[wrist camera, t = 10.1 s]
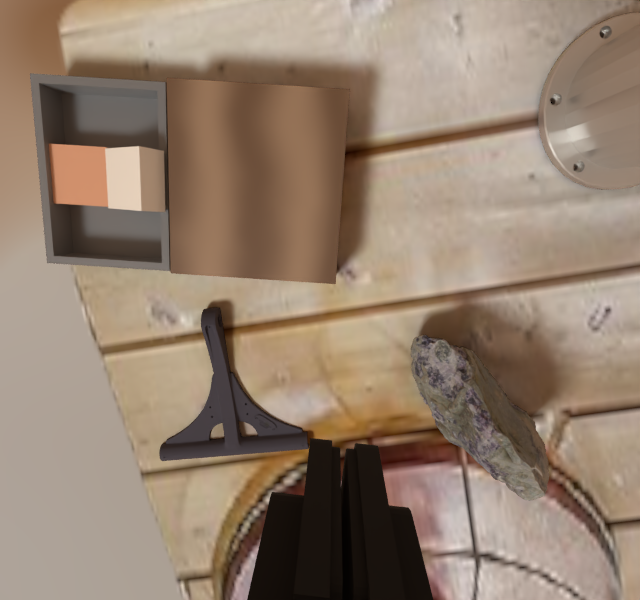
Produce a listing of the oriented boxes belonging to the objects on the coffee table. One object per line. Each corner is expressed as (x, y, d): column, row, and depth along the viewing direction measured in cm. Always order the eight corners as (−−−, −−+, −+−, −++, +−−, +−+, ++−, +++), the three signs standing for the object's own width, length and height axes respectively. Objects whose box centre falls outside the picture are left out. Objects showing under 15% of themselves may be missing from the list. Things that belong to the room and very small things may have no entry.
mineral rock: (404, 327, 35) (433, 370, 26) (523, 312, 35) (600, 351, 25) (415, 452, 38) (446, 535, 28) (526, 440, 38) (596, 520, 28)
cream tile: (163, 150, 29) (139, 146, 28) (165, 212, 30) (141, 211, 29) (129, 152, 32) (105, 148, 30) (132, 209, 33) (108, 208, 31)
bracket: (292, 298, 36) (288, 305, 33) (309, 442, 39) (307, 459, 36) (139, 312, 36) (124, 320, 34) (168, 453, 39) (156, 471, 37)
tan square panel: (346, 104, 31) (349, 89, 27) (334, 275, 34) (335, 283, 30) (186, 94, 31) (166, 77, 28) (188, 266, 34) (170, 273, 31)
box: (180, 94, 31) (165, 82, 28) (182, 266, 34) (169, 270, 32) (57, 86, 31) (29, 73, 29) (70, 258, 34) (47, 262, 32)
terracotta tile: (48, 143, 30) (65, 147, 32) (53, 203, 31) (69, 203, 33) (106, 147, 30) (119, 151, 32) (109, 206, 31) (122, 207, 33)
